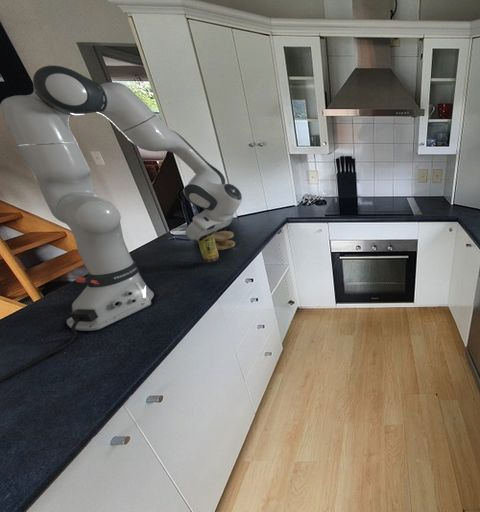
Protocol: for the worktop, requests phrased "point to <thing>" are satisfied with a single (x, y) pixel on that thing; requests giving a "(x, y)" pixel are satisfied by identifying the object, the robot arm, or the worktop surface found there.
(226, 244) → the stand
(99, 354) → the worktop surface
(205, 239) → the sauce bottle
